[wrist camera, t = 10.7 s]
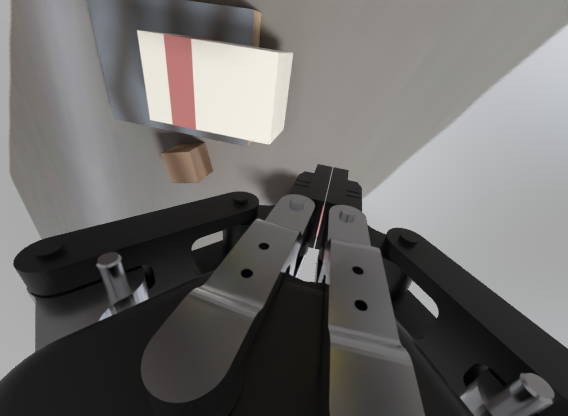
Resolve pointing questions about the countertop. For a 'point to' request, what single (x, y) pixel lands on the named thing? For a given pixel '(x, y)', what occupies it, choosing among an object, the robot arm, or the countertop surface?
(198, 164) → the walnut block
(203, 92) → the carton
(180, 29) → the podium
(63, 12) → the countertop surface
